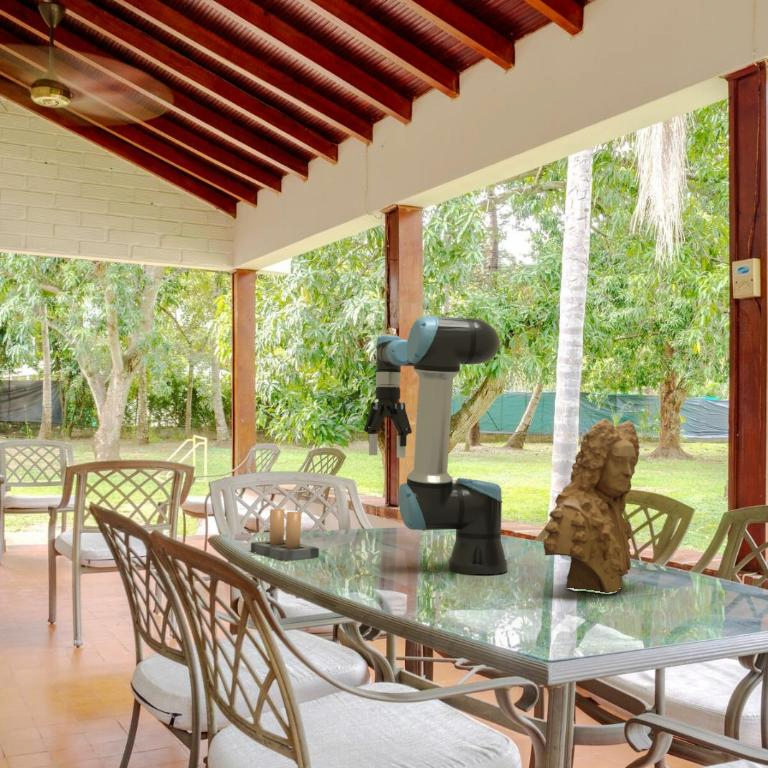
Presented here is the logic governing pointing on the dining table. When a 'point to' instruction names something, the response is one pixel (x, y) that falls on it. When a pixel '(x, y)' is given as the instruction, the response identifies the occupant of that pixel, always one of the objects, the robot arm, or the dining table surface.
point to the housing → (284, 551)
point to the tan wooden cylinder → (293, 530)
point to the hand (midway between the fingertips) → (386, 456)
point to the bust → (596, 509)
